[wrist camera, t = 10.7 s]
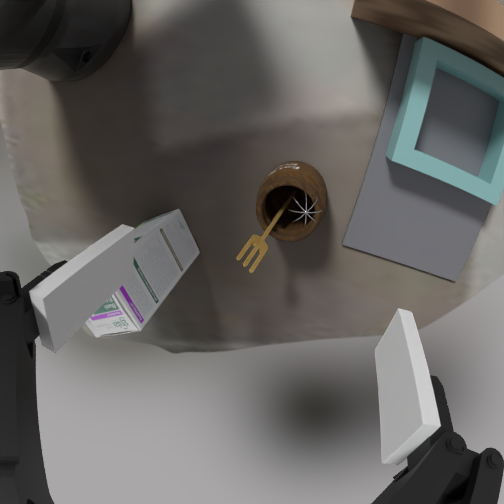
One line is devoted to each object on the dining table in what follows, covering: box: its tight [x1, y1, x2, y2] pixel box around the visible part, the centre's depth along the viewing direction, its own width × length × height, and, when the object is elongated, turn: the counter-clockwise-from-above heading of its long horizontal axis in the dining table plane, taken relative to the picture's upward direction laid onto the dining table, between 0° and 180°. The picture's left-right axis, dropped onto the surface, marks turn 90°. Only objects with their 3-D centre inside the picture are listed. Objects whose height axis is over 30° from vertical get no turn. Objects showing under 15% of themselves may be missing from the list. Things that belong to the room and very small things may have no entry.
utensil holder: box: [236, 161, 327, 273], centre depth 26 cm, size 6×6×12 cm
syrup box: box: [85, 209, 200, 337], centre depth 30 cm, size 6×6×14 cm
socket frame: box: [385, 37, 504, 206], centre depth 22 cm, size 12×12×3 cm
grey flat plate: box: [342, 33, 499, 282], centre depth 26 cm, size 14×22×1 cm, turn 167°
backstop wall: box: [351, 0, 504, 78], centre depth 16 cm, size 24×3×10 cm, turn 77°
